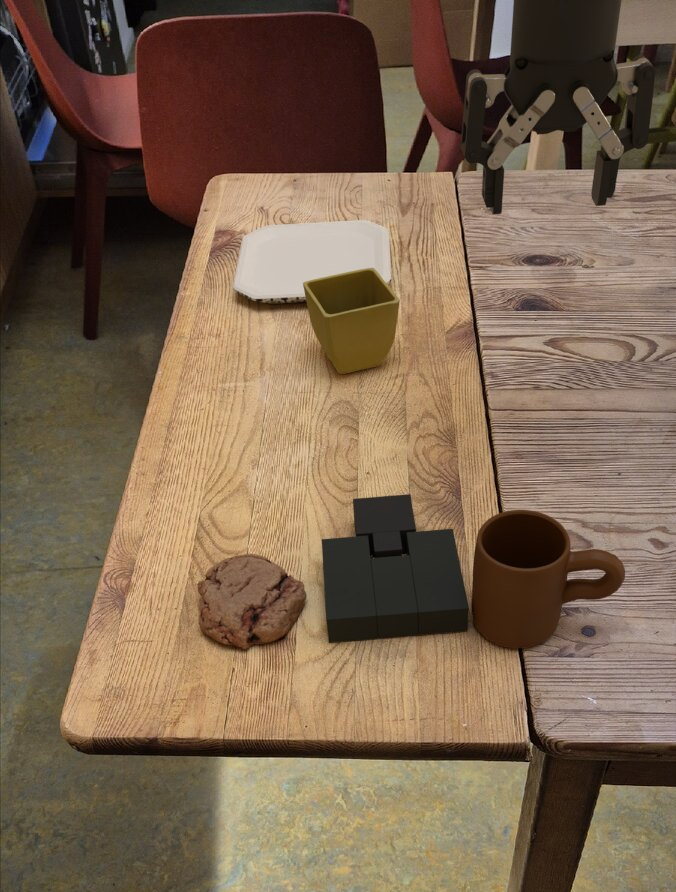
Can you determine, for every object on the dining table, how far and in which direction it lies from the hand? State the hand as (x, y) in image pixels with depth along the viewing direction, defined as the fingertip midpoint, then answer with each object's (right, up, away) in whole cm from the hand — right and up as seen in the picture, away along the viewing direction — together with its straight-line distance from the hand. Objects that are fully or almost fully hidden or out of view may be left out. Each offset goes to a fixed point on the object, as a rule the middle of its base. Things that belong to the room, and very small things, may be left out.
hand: (546, 206), depth 76 cm
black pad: (-13, -27, +11) cm, 32 cm away
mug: (0, -35, +3) cm, 35 cm away
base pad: (-12, -32, +7) cm, 35 cm away
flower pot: (-15, -4, +34) cm, 37 cm away
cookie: (-25, -33, +7) cm, 42 cm away
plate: (-20, +12, +50) cm, 55 cm away
